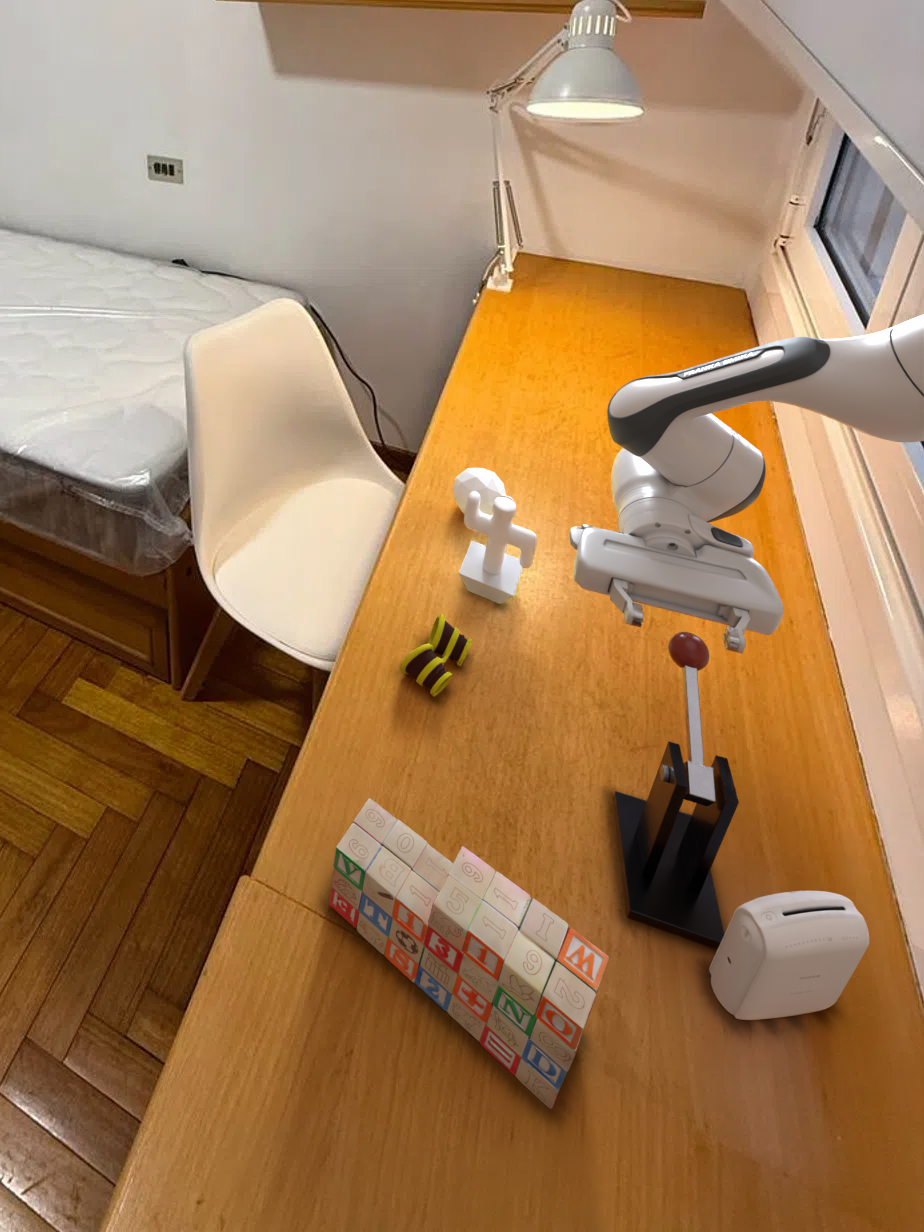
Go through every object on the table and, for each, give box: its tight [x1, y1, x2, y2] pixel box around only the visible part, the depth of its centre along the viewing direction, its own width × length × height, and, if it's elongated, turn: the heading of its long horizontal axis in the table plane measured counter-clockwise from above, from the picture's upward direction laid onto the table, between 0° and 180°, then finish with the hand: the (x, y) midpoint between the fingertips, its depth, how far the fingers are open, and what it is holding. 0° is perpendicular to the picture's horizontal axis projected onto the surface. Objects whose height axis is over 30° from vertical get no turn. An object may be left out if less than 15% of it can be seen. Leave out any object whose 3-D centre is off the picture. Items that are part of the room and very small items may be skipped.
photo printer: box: [708, 890, 870, 1021], centre depth 72 cm, size 10×4×12 cm, turn 96°
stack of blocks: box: [328, 797, 610, 1110], centre depth 73 cm, size 21×6×12 cm, turn 48°
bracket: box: [612, 741, 740, 951], centre depth 80 cm, size 12×8×15 cm, turn 160°
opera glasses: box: [399, 613, 473, 698], centre depth 103 cm, size 10×5×5 cm, turn 137°
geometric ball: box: [452, 467, 507, 516], centre depth 128 cm, size 8×8×8 cm
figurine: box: [458, 491, 538, 605], centre depth 113 cm, size 7×9×15 cm
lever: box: [667, 631, 716, 806], centre depth 82 cm, size 15×4×4 cm, turn 160°
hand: (684, 634), depth 88 cm, fingers open, 8 cm apart
